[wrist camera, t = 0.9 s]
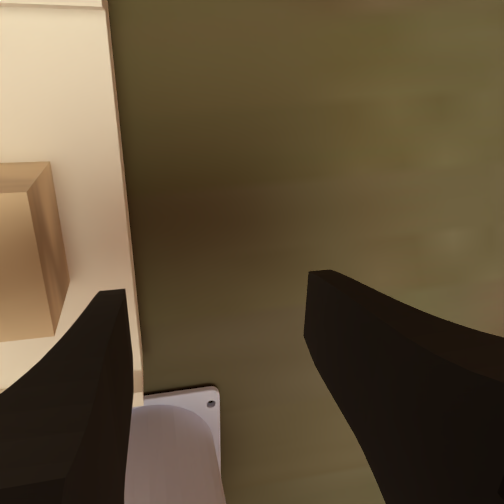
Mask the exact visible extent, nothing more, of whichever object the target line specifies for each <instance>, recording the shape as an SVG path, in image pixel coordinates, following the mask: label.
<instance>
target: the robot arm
mask: <svg viewBox="0 0 504 504" xmlns="http://www.w3.org/2000/svg"><path fill="white" fill-rule="evenodd" d="M304 338H305V341H306V344H307V346H308V349H309V352H310V354H311V356H312V359H313V361H314V364H315V366H316V368H317V370H318V372H319V373H320V375H321V377H322V379H323V381H324V382H325V384H326V386H327V388H328V389H329V391H330V393H331V395H332V396H333V398H334V400H335V401H336V403H337V405H338V407H339V408H340V410H341V412H342V414H343V415H344V417H345V419H346V420H347V422H348V424H349V426H350V427H351V429H352V431H353V433H354V434H355V436H356V438H357V440H358V442H359V444H360V446H361V448H362V450H363V452H364V454H365V456H366V459H367V461H368V463H369V465H370V468H371V470H372V472H373V474H374V477H375V479H376V481H377V484H378V486H379V488H380V491H381V493H382V495H383V498H384V500H385V503H386V504H504V338H503V337H499V336H496V335H492V334H488V333H484V332H481V331H477V330H474V329H471V328H468V327H465V326H462V325H459V324H456V323H453V322H450V321H447V320H444V319H441V318H438V317H436V316H433V315H430V314H428V313H426V312H423V311H421V310H418V309H416V308H414V307H411V306H409V305H406V304H404V303H402V302H400V301H398V300H395V299H393V298H391V297H389V296H387V295H385V294H383V293H381V292H378V291H376V290H374V289H372V288H370V287H368V286H366V285H364V284H362V283H360V282H358V281H356V280H354V279H352V278H350V277H347V276H345V275H343V274H341V273H338V272H336V271H333V270H321V271H310V272H309V275H308V287H307V299H306V312H305V324H304ZM133 394H134V379H133V353H132V344H131V335H130V326H129V317H128V308H127V299H126V290H125V289H115V290H104V291H99V292H98V293H97V294H96V295H95V296H94V298H93V299H92V300H91V302H90V303H89V304H88V306H87V307H86V308H85V310H84V311H83V312H82V313H81V315H80V316H79V317H78V319H77V320H76V321H75V322H74V323H73V325H72V326H71V327H70V328H69V329H68V331H67V332H66V333H65V334H64V335H63V336H62V338H61V339H60V340H59V341H58V342H57V343H56V344H55V345H54V346H53V347H52V348H51V349H50V350H49V351H48V352H47V353H46V354H45V356H44V357H43V358H42V359H41V360H40V361H39V362H38V363H37V364H35V365H34V366H33V367H32V368H31V369H30V370H29V371H28V372H26V373H25V374H24V375H23V376H22V377H21V378H19V379H18V380H17V381H16V382H15V383H13V384H12V385H11V386H10V387H8V388H7V389H6V390H5V391H3V392H2V393H0V504H226V500H225V495H224V490H223V485H222V480H221V454H220V395H219V391H218V389H217V388H216V387H214V386H208V387H201V388H194V389H187V390H180V391H173V392H167V393H160V394H153V395H146V396H144V406H138V407H132V405H133ZM209 401H213V402H212V403H208V402H209Z"/></svg>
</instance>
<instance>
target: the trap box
mask: <svg viewBox="0 0 504 504" xmlns="http://www.w3.org/2000/svg"><path fill="white" fill-rule="evenodd" d="M46 161H50V164H51V170H52V176H53V182H54V188H55V194H56V200H57V206H58V212H59V218H60V224H61V230H62V236H63V242H64V248H65V254H66V260H67V266H68V272H69V278H70V283H69V287H68V291H67V294H66V298H65V301H64V305H63V308H62V312H61V315H60V319H59V322H58V326H57V329H56V333H55V336H52V337H43V338H34V339H25V340H16V341H7V342H0V393H2V392H3V391H5V390H6V389H7V388H8V387H10V386H11V385H12V384H13V383H15V382H16V381H17V380H18V379H19V378H21V377H22V376H23V375H24V374H25V373H26V372H28V371H29V370H30V369H31V368H32V367H33V366H34V365H35V364H37V363H38V362H39V361H40V360H41V359H42V358H43V357H44V356H45V354H46V353H47V352H48V351H49V350H50V349H51V348H52V347H53V346H54V345H55V344H56V343H57V342H58V341H59V340H60V339H61V338H62V336H63V335H64V334H65V333H66V332H67V331H68V329H69V328H70V327H71V326H72V325H73V323H74V322H75V321H76V320H77V319H78V317H79V316H80V315H81V313H82V312H83V311H84V310H85V308H86V307H87V306H88V304H89V303H90V302H91V300H92V299H93V298H94V296H95V295H96V294H97V293H98V292H99V291H104V290H115V289H125V290H126V299H127V308H128V317H129V326H130V335H131V344H132V353H133V379H134V394H133V405H132V407H138V406H144V394H143V352H142V342H141V332H140V322H139V312H138V301H137V291H136V281H135V271H134V261H133V251H132V241H131V231H130V221H129V211H128V201H127V191H126V181H125V171H124V161H123V151H122V141H121V131H120V121H119V111H118V101H117V91H116V81H115V71H114V61H113V51H112V40H111V30H110V20H109V10H108V0H0V163H15V162H46Z"/></svg>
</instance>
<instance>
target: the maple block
mask: <svg viewBox="0 0 504 504" xmlns="http://www.w3.org/2000/svg"><path fill="white" fill-rule="evenodd" d="M69 283H70V278H69V272H68V266H67V260H66V254H65V248H64V242H63V236H62V230H61V224H60V218H59V212H58V206H57V200H56V194H55V188H54V182H53V176H52V170H51V164H50V161H46V162H15V163H0V342H7V341H16V340H25V339H34V338H43V337H52V336H55V333H56V329H57V326H58V322H59V319H60V315H61V312H62V308H63V305H64V301H65V298H66V294H67V291H68V287H69Z"/></svg>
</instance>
